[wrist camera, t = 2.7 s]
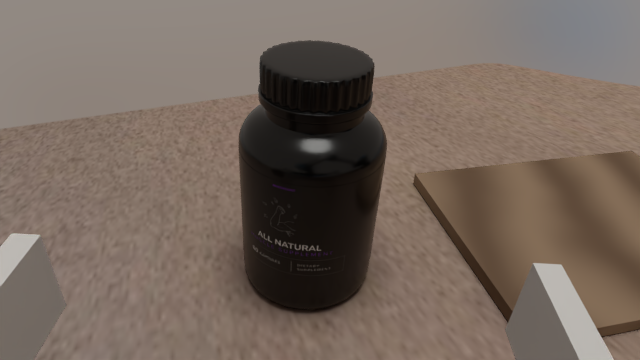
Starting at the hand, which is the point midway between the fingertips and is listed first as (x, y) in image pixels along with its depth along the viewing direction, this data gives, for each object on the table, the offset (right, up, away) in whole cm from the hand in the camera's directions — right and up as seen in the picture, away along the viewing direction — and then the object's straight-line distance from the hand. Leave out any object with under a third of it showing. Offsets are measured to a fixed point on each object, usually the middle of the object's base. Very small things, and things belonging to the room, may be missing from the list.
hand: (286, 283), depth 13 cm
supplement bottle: (0, -2, +13) cm, 14 cm away
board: (+18, 0, +17) cm, 24 cm away
